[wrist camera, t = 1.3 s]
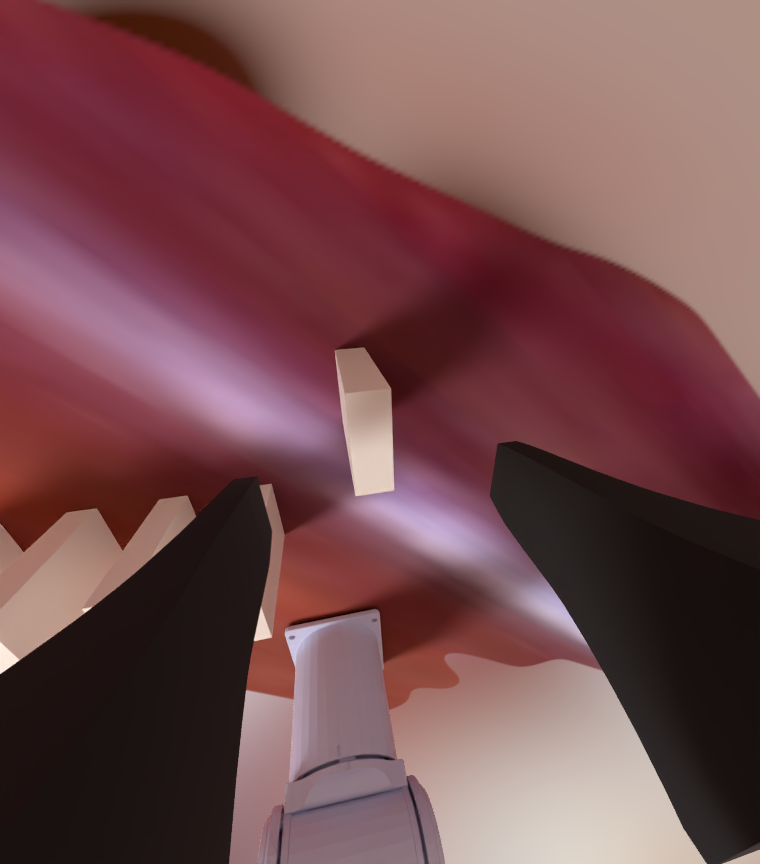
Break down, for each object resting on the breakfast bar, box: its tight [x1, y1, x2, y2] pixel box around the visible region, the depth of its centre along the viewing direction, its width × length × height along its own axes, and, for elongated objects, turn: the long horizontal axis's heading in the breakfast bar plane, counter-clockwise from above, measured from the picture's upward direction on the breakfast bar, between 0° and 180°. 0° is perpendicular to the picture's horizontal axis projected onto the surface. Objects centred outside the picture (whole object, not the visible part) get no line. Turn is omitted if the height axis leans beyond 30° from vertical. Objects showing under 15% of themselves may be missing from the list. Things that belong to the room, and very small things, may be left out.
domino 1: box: [0, 508, 122, 674], centre depth 16 cm, size 4×2×7 cm, turn 2°
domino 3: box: [254, 484, 285, 641], centre depth 17 cm, size 4×2×7 cm, turn 2°
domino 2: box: [82, 495, 196, 613], centre depth 17 cm, size 4×2×7 cm, turn 3°
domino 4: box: [335, 348, 394, 496], centre depth 15 cm, size 4×2×7 cm, turn 2°
